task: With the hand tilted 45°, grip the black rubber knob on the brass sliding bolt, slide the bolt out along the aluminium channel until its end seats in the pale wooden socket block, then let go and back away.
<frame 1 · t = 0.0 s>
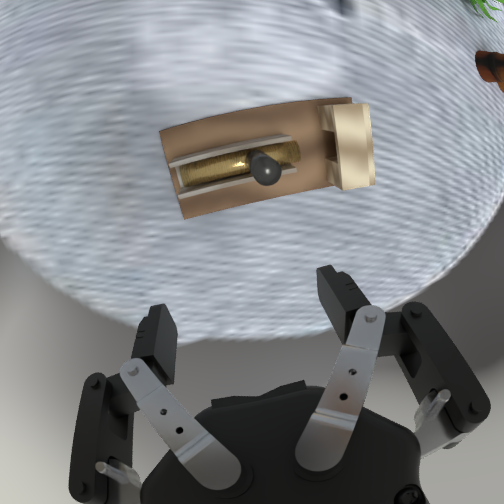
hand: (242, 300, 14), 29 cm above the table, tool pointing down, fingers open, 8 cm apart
binoculars: (493, 72, 32), on the table
brass sliding bolt: (243, 167, 32), point 7 cm above the table, slide at 0.0 cm
tube guide: (267, 152, 38), on the table
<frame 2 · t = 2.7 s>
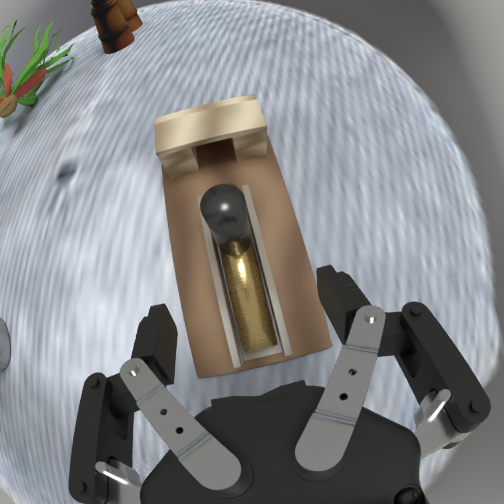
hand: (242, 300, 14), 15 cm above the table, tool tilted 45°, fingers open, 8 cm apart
decorative plant: (38, 93, 43), on the table
binoculars: (124, 36, 47), on the table
brass sliding bolt: (236, 254, 22), point 7 cm above the table, slide at 0.0 cm
tube guide: (233, 233, 30), on the table
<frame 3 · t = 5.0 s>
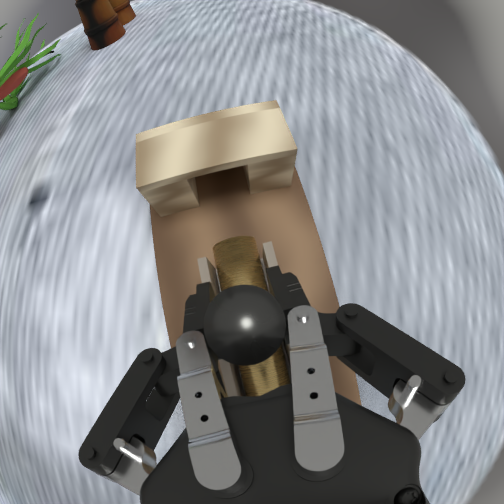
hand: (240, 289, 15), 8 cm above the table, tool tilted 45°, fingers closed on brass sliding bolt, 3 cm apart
decorative plant: (21, 95, 36), on the table
binoculars: (114, 30, 39), on the table
brass sliding bolt: (258, 359, 14), point 7 cm above the table, slide at 0.0 cm, touching gripper
tube guide: (247, 296, 22), on the table
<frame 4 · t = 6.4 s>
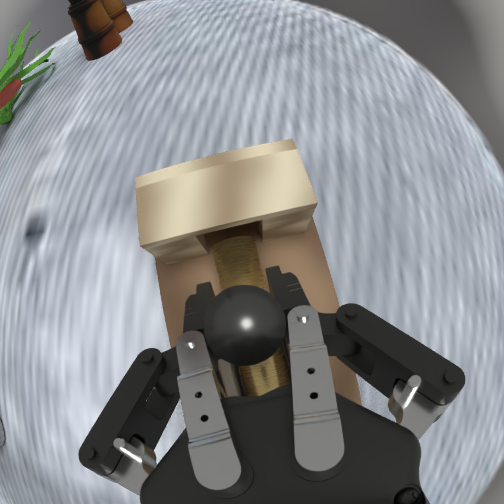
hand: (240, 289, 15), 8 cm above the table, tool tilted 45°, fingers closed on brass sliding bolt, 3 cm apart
decorative plant: (15, 107, 35), on the table
binoculars: (110, 38, 38), on the table
brass sliding bolt: (258, 359, 14), point 7 cm above the table, slide at 4.5 cm, touching gripper
tube guide: (260, 349, 21), on the table
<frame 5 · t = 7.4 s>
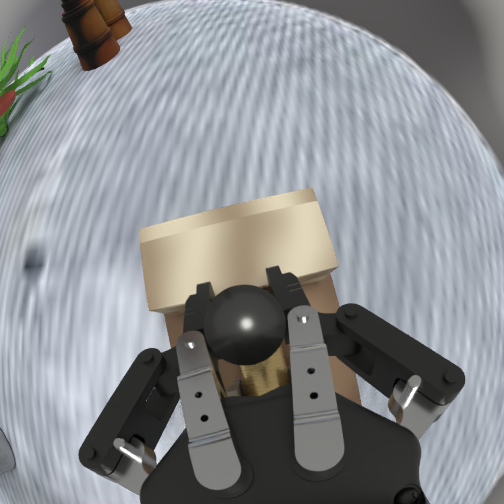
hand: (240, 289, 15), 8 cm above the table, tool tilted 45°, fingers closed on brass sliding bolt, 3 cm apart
decorative plant: (11, 119, 33), on the table
binoculars: (108, 46, 36), on the table
brass sliding bolt: (258, 359, 14), point 7 cm above the table, slide at 8.9 cm, touching gripper
tube guide: (272, 397, 20), on the table
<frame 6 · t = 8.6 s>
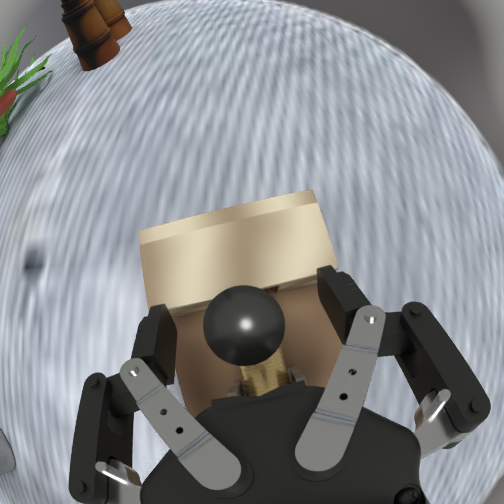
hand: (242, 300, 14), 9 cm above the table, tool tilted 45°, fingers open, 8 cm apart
decorative plant: (11, 118, 33), on the table
binoculars: (108, 46, 36), on the table
brass sliding bolt: (258, 360, 14), point 7 cm above the table, slide at 9.0 cm
tube guide: (272, 399, 20), on the table
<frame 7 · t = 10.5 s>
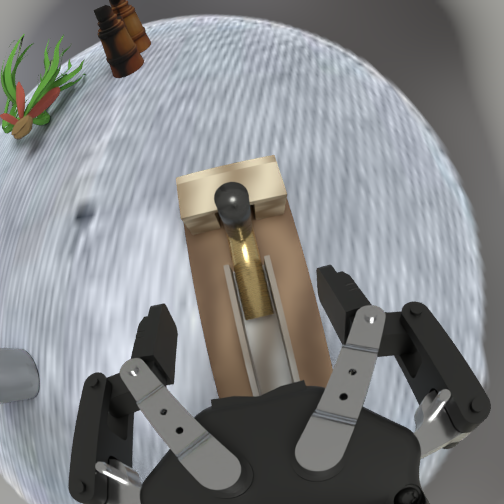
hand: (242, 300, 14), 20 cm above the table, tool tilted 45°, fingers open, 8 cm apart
decorative plant: (51, 111, 47), on the table
binoculars: (132, 57, 50), on the table
brass sliding bolt: (241, 237, 28), point 7 cm above the table, slide at 9.0 cm
tube guide: (253, 290, 34), on the table
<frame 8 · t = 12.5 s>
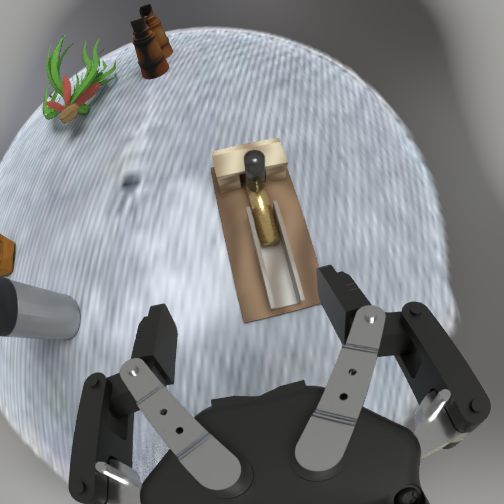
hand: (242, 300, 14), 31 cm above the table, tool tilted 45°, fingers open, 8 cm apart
decorative plant: (87, 103, 61), on the table
binoculars: (158, 62, 64), on the table
brass sliding bolt: (258, 187, 41), point 7 cm above the table, slide at 9.0 cm
tube guide: (265, 230, 47), on the table
coffee package: (5, 259, 48), on the table
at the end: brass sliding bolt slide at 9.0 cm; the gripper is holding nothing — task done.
